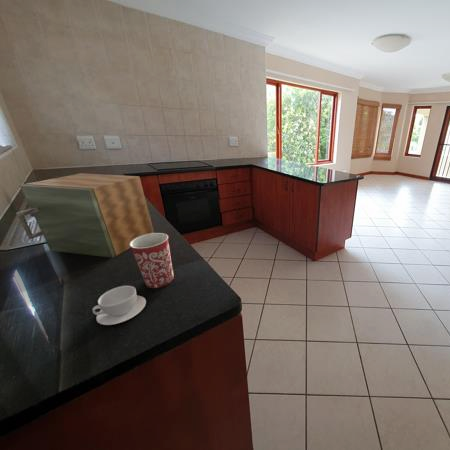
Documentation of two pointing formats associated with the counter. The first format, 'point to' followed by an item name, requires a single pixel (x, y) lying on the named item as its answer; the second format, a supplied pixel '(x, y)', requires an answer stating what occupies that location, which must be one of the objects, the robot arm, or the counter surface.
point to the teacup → (118, 305)
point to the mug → (153, 259)
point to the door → (67, 220)
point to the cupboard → (113, 204)
